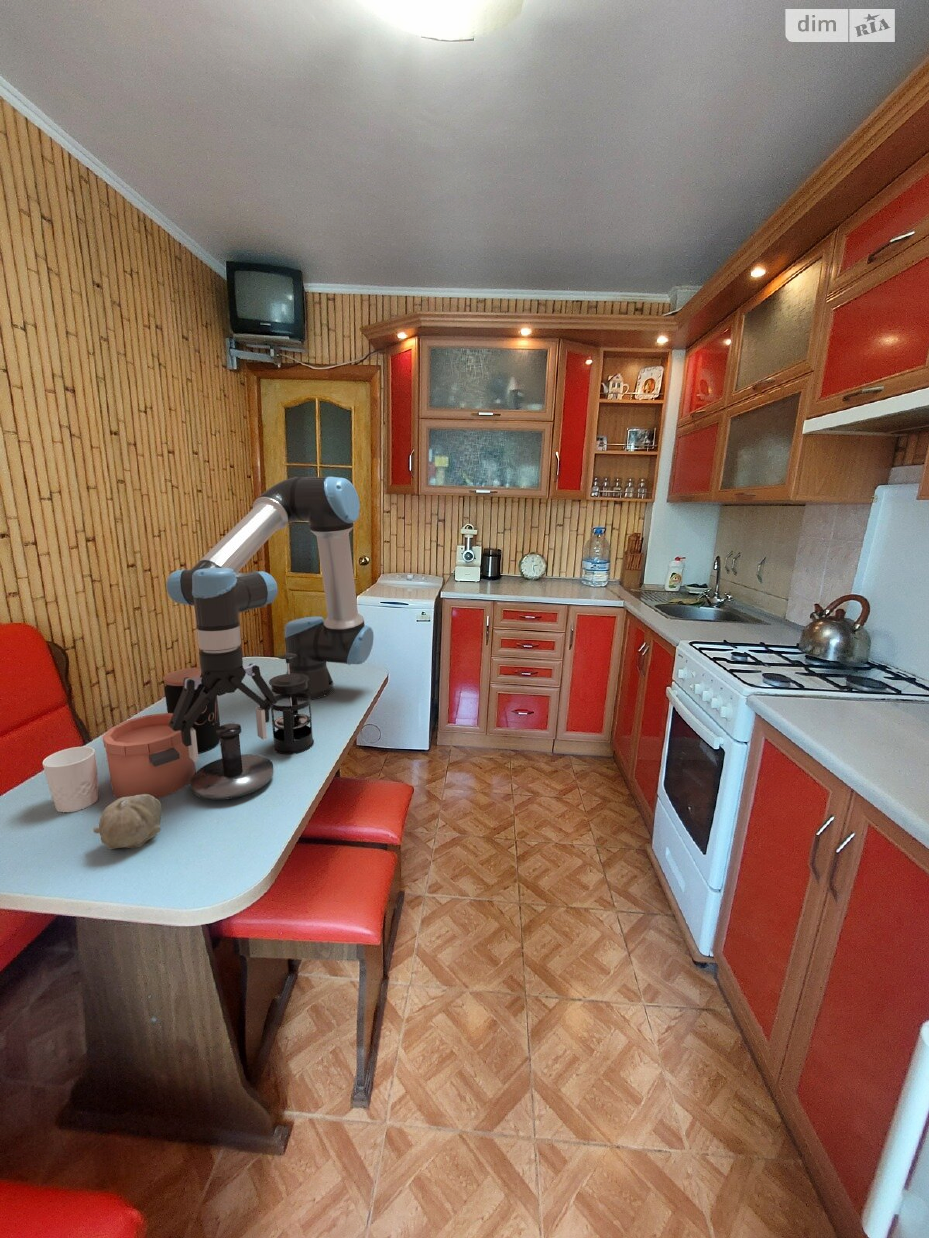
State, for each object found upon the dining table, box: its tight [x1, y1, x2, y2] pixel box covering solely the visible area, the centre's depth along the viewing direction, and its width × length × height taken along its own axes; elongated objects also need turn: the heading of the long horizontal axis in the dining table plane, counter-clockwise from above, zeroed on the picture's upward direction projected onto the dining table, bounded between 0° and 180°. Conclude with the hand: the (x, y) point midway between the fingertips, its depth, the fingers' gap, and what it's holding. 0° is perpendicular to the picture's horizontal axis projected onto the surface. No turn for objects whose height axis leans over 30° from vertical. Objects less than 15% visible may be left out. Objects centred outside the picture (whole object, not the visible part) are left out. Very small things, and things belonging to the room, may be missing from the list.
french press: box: [268, 652, 315, 755], centre depth 119 cm, size 12×9×23 cm
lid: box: [190, 722, 275, 800], centre depth 103 cm, size 16×16×13 cm
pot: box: [101, 712, 197, 800], centre depth 104 cm, size 21×15×12 cm
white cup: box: [42, 746, 100, 814], centre depth 96 cm, size 8×8×10 cm
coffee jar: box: [162, 666, 221, 754], centre depth 119 cm, size 11×11×18 cm
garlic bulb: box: [93, 794, 163, 850], centre depth 85 cm, size 9×8×10 cm
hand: (229, 747), depth 102 cm, fingers open, 13 cm apart
